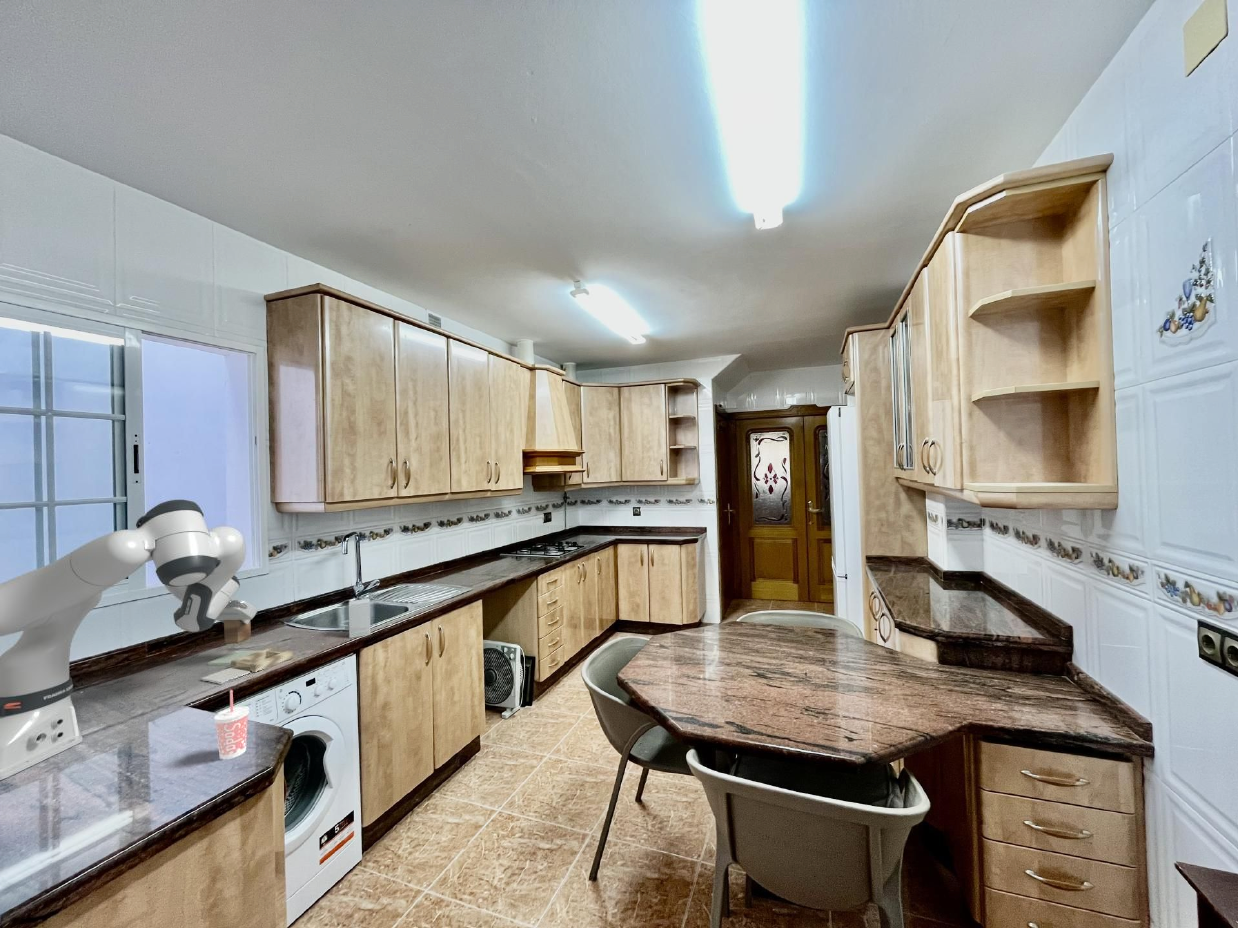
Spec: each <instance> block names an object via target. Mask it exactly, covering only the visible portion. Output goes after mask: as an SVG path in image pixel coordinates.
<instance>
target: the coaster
mask: <svg viewBox="0 0 1238 928" xmlns="http://www.w3.org/2000/svg"><path fill="white" fill-rule="evenodd" d="M259 651H260V650H236V651H232V652H231V653H229V654H226V655H223V656H221V657H218V658H216V659H214V660H211V661H209V662H207V665H208V666H231V661H233V660H236V659H239V658H242V657H245V656H248V655H250V654H253V653H256V652H259Z"/></svg>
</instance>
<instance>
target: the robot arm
mask: <svg viewBox="0 0 1238 928" xmlns="http://www.w3.org/2000/svg"><path fill="white" fill-rule="evenodd" d="M204 516H205V515H204V512H203V511H202V509H201V507H200V506H199V505H198V504H197V503H196V502H195V501H193V500H188V499H171V500H167V501H163V502H161V503H159V504H157V505H155V506H154V507H152V508H151V509H149V510H148V511H147V512H145V515H143V516H141V517H139V518H138V519H137V521H136V523H135V527H136V529H120V530H116V531H113V532H110V533H107V534H104V535H102V536H100V537H99V536H98V537H97V538H95V539H93V540H91V541H89V542H87V543H84V544H83V545H82V546H80V547H78V548H76V549H74V550H73V551H71V552H69V553H67V554H66V555H64V556H62V557H61V558H59V559H57V560H55V561H53V562H51V563H49V564H46V565H44V566H42V567H39V568H37V569H36V568H35V569H34V570H31V571H28V572H26V573H23V574H21V575H17V576H16V577H13V578H11V579H8V580H6V581H4V582H1V583H0V637H4V636H5V637H6V636H8V635H11V634H16V633H19V632H22V634H21V636H19V637H20V638H19V639H18V640H17V641H16V642H15V644H14V645H12V647H10V648H9V649H8V650H6V651H4V653H3V652H2V654H1V655H0V781H2V780H4V779H7V778H9V777H11V776H13V775H15V774H18V773H20V772H22V771H24V770H26V769H28V768H30V767H32V766H35V765H36V764H38V763H41V762H43V761H44V760H47V759H49V758H51V757H53V756H56V755H57V754H60V753H62V752H64V751H66V750H68V749H70V748H72V747H74V746H77V745H78V744H81V743H83V741H84V740H83V738H84V737H83V736H82V732H81V730H80V727H79V725H78V721H77V714H76V709H75V707H74V704H73V701H72V698H71V695H72V693H74V690H73V688H74V684H73V678H72V677H71V676H70V655H71V653H70V652H71V646H72V641H73V639H74V636H75V634H76V632H77V630H78V629H79V626H80V625H81V623H82V622H83V620H84V619H85V617H86V616H87V615H88V614H89V613H90V612H91V611H92V610H94V609H95V608H96V607H97V606H98V605H99V603H100V602H101V599H102V596H103V592H104V591H106V590H108V589H110V588H112V587H113V586H115V585H116V584H119V582H122V581H123V580H125V579H126V578H128V577H130V576H131V575H132V574H133V573H135V572H137V570H139V569H140V568H141V567H143V565H145V563H148V562H151V561H153V563H154V566H155V574H156V577H157V578H158V580H159V581H160V582H161V584H162V585H164V587H165V588H166V590H167V591H168V592H169V593H170V594H171V595H172V596H174V597H175V598H176V599H177V600H179V601H181V602H182V603H181V605H180V607H178V608H177V609H176V611H175V612H174V613H173V620H174V624H175V625H176V626H177V627H178V628H179V629H181V630H184V631H186V632H190V633H199V632H204V631H206V630H208V629H211V628H212V627H213V625H214V623H215V622H216V621H217V622H222V623H224V620H241V623H243V624H248V623H249V621H250V622H251V620H253V618H254V617H255V616H256V615H257V613H258V608H257V607H255V605H252V604H251V603H250V602H248V601H246V600H243V599H232V598H234V596H235V594H237V592H238V591H239V589H240V587H241V584H240V581H239V578H238V577H237V576H236V574H237V573H238V571H239V570H240V569H241V567H242V566H243V564H244V561H245V559H246V555H247V553H246V552H247V546H246V541H245V539H244V536H243V534H242V533H241V532H240V531H239V530H238V529H236V528H235V527H232V526H227V525H226V526H225V525H221V526H216V527H212V528H210V529H208V526H207V524H206V521H205V519H204Z"/></svg>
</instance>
